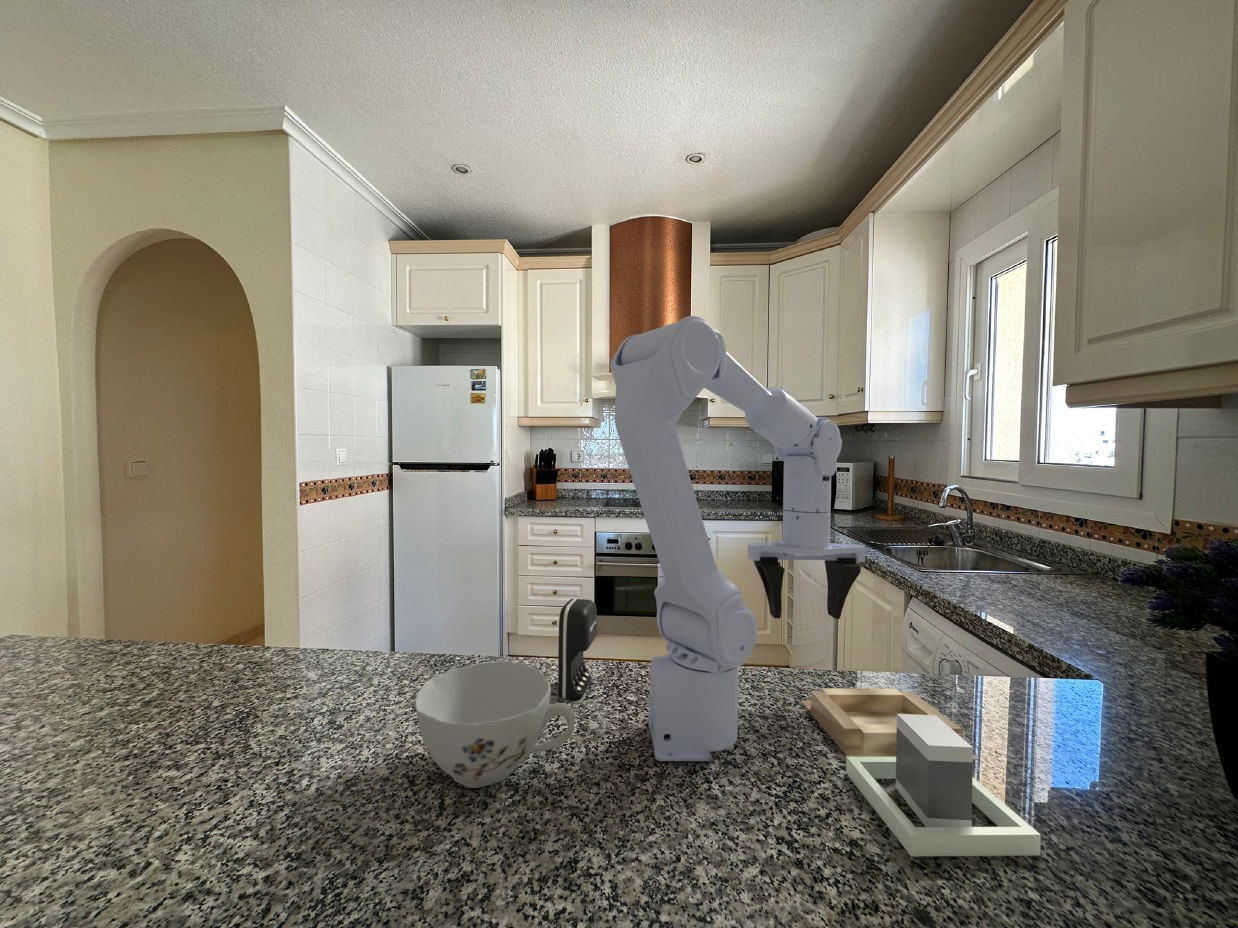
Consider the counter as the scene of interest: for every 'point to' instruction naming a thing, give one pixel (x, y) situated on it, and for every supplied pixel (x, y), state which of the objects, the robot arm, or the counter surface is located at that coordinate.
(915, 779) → the grey rectangular block
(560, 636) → the black battery charger
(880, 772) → the tray
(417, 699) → the teacup
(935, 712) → the tray
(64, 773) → the counter surface
